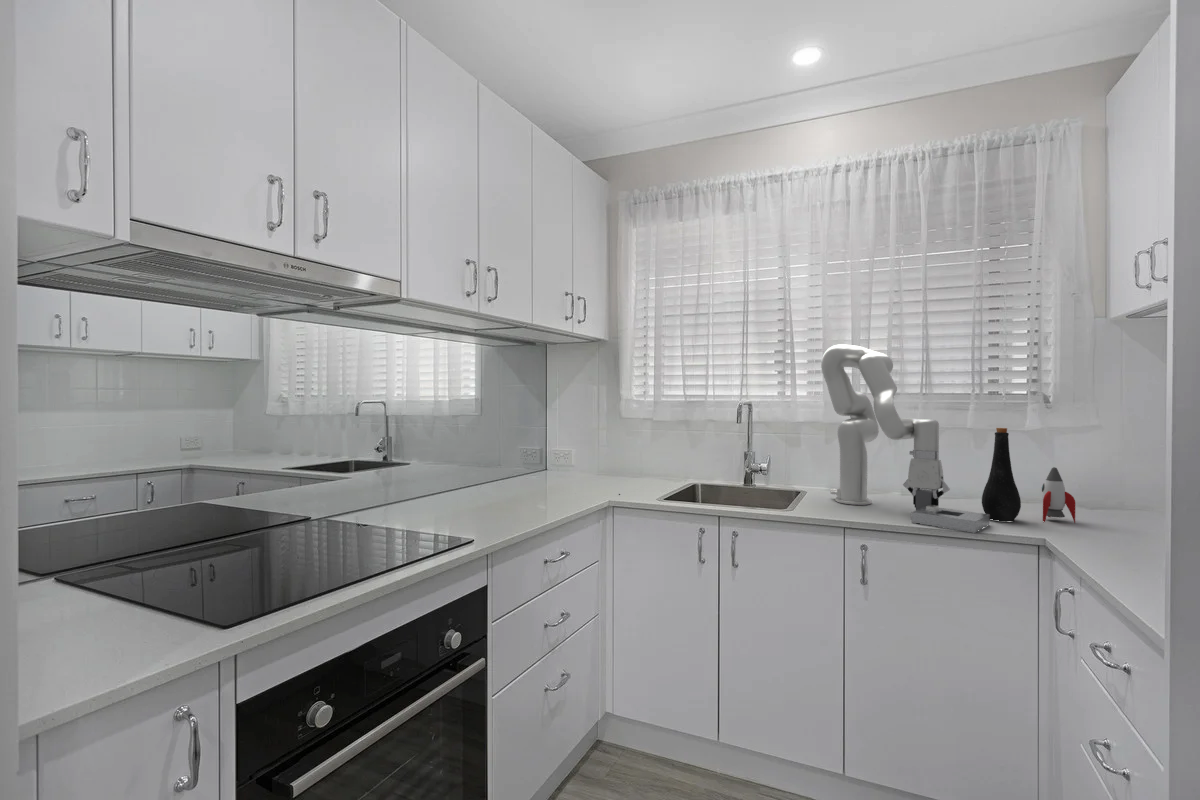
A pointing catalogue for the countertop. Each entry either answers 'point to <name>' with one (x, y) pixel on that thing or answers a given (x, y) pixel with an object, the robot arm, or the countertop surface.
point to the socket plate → (950, 518)
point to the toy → (1056, 496)
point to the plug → (923, 498)
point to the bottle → (1001, 483)
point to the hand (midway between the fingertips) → (925, 507)
